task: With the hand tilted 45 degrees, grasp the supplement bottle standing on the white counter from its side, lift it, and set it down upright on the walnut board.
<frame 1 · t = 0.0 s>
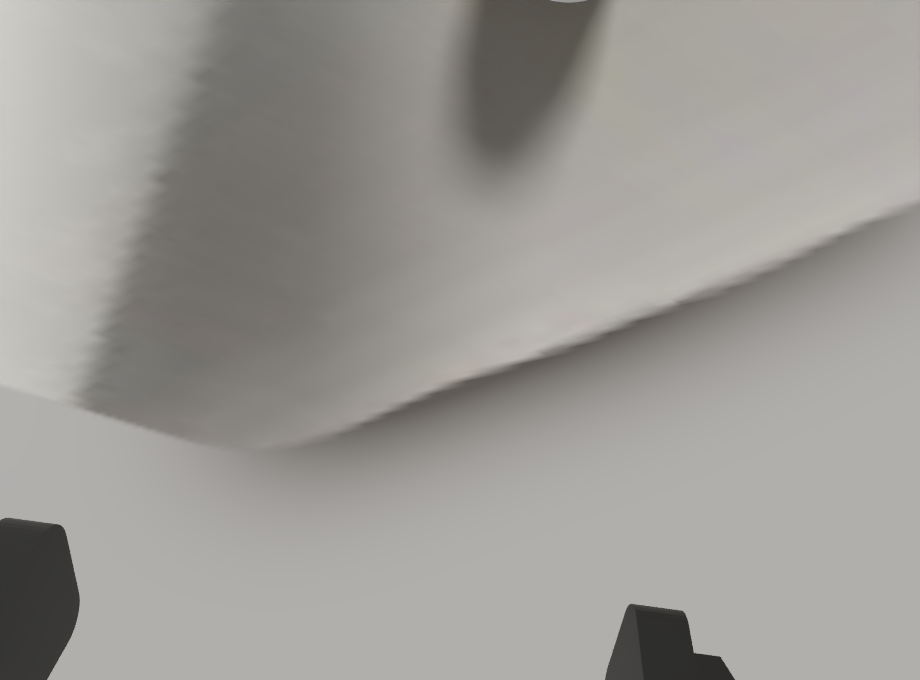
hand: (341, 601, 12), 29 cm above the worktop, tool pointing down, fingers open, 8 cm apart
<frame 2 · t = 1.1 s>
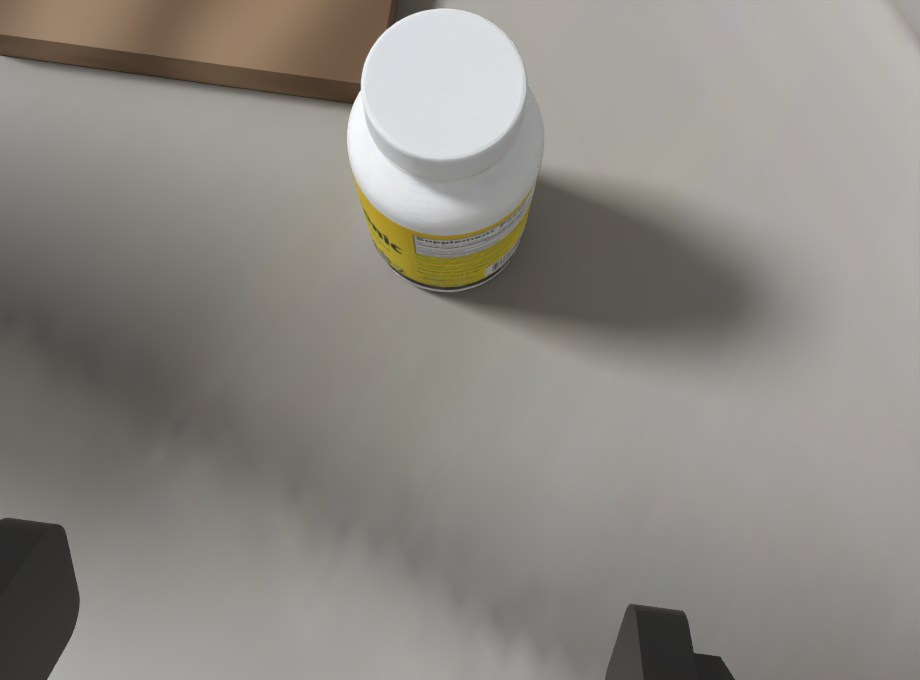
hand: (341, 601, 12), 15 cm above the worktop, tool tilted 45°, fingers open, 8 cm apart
supplement bottle: (446, 224, 29), on the worktop
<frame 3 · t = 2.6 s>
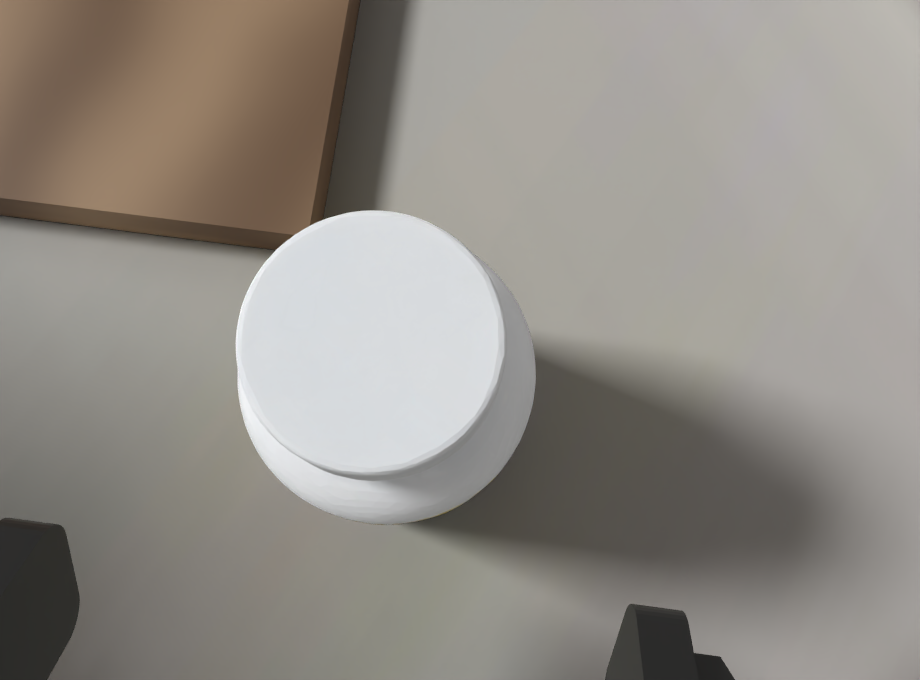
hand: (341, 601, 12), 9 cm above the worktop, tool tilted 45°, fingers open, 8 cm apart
supplement bottle: (406, 416, 22), on the worktop
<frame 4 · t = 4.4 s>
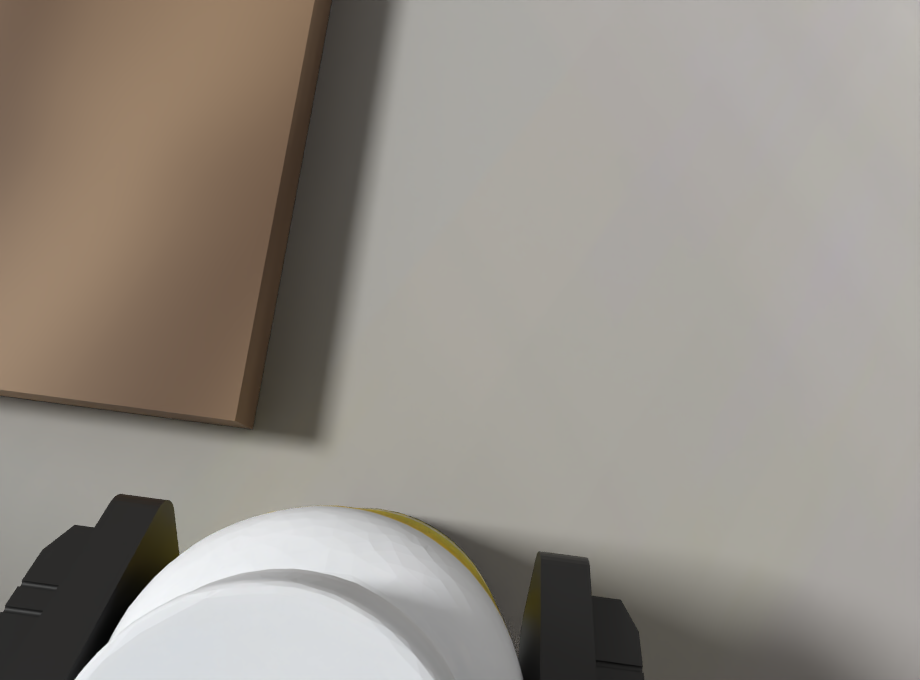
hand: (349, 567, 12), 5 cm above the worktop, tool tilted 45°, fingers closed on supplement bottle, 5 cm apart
supplement bottle: (364, 645, 17), on the worktop, touching gripper
walnut board: (7, 87, 19), on the worktop
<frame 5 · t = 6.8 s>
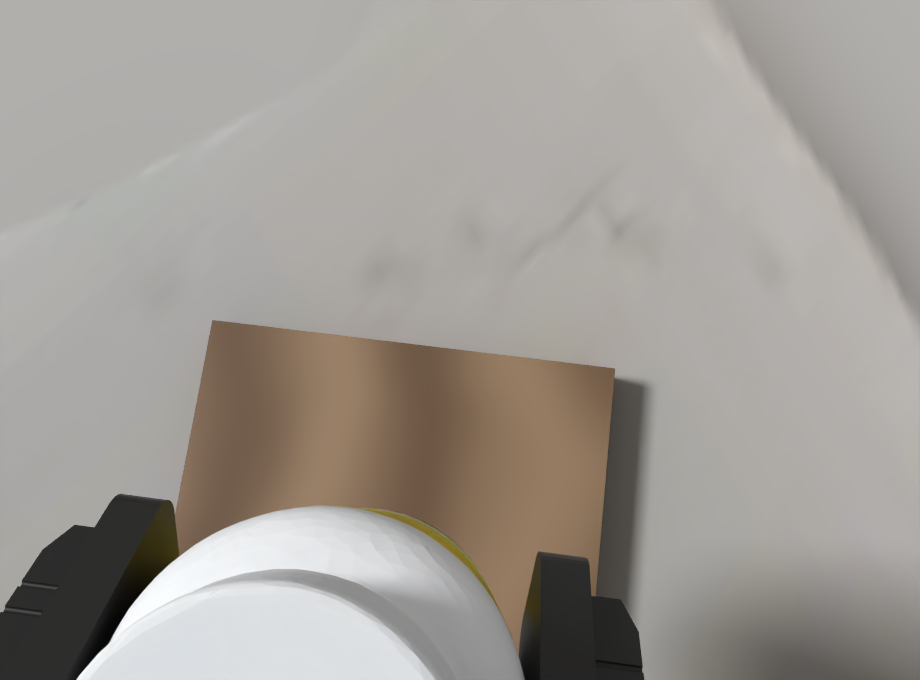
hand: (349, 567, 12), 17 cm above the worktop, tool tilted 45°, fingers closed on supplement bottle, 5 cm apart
supplement bottle: (365, 645, 17), point 12 cm above the worktop, touching gripper
walnut board: (387, 550, 29), on the worktop
when the fingers open (6 cm above the worktop, at t = 9.5 s): supplement bottle stays where it is, resting on walnut board.
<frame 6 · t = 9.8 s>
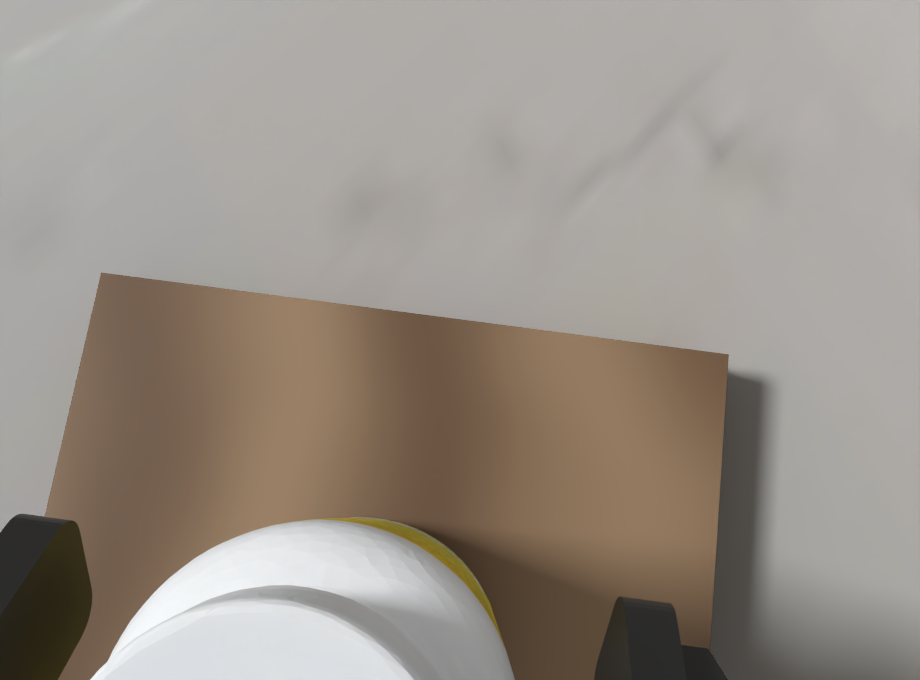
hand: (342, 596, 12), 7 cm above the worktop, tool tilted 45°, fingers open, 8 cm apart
supplement bottle: (365, 652, 17), point 1 cm above the worktop, touching walnut board
walnut board: (371, 634, 18), on the worktop
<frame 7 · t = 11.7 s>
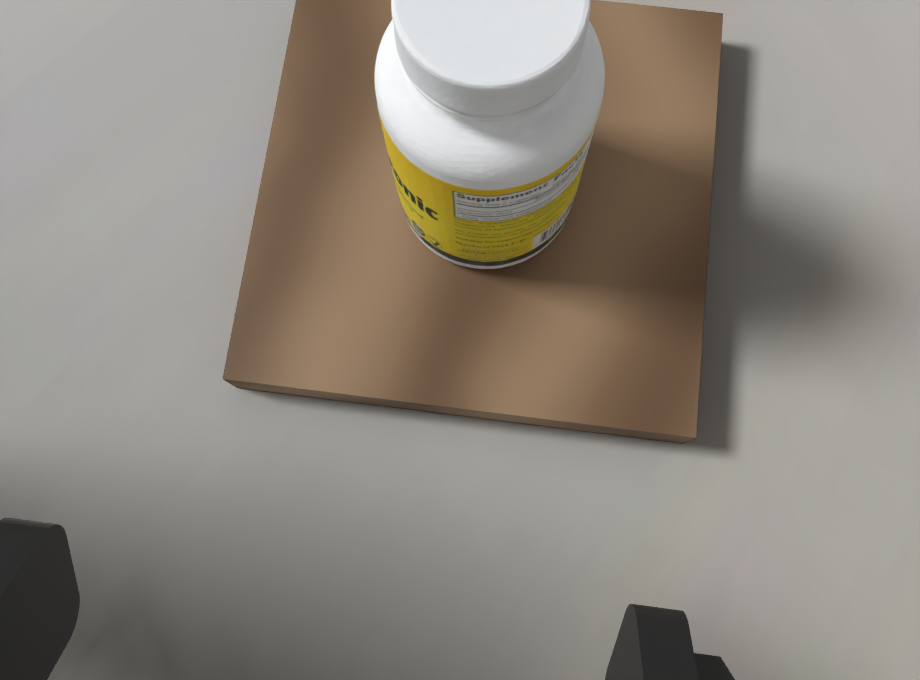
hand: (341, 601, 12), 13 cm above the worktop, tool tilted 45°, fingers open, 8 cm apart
supplement bottle: (485, 194, 26), point 1 cm above the worktop, touching walnut board
walnut board: (484, 205, 27), on the worktop
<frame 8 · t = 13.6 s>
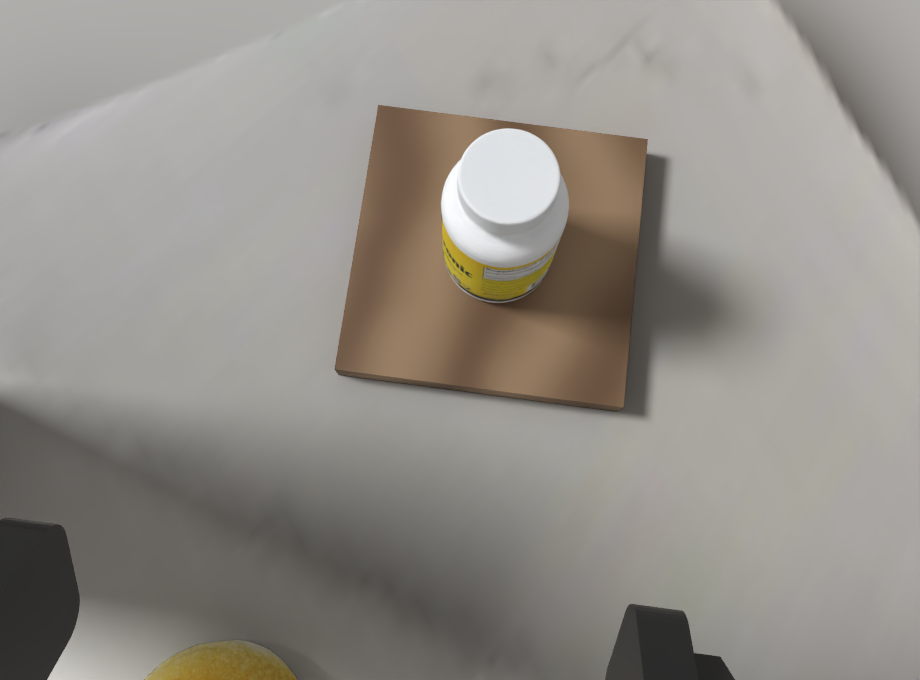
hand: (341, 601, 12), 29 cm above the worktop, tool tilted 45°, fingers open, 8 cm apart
supplement bottle: (496, 255, 42), point 1 cm above the worktop, touching walnut board
walnut board: (494, 259, 43), on the worktop
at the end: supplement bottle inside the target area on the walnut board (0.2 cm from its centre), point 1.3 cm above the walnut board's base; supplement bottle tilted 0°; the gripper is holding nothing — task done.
